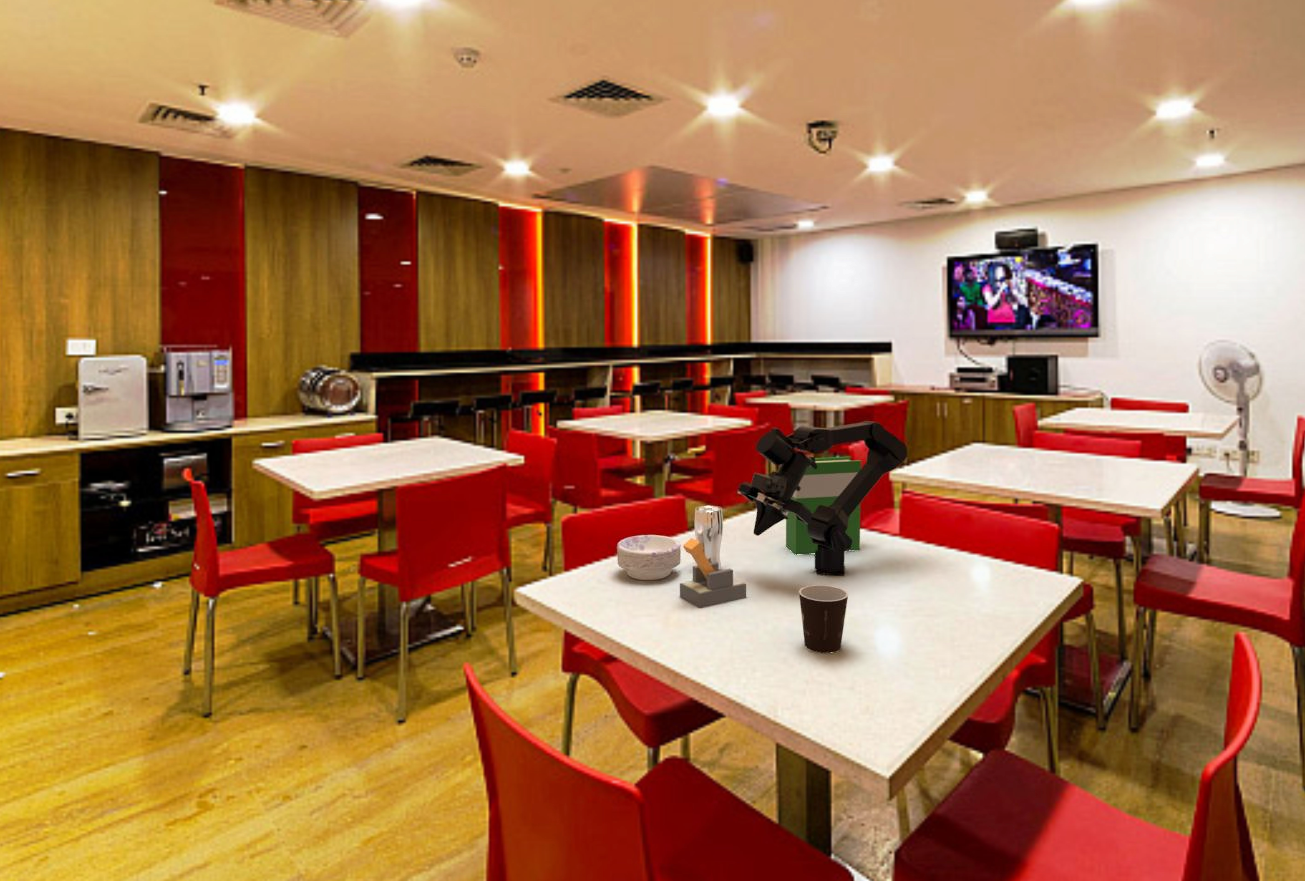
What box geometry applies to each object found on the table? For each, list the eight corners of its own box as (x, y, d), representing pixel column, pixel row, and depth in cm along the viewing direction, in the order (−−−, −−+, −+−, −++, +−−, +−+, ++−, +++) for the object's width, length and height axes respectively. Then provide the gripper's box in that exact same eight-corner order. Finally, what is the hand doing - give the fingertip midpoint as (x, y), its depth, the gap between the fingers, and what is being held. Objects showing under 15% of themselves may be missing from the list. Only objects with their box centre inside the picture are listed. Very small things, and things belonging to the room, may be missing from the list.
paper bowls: (668, 587, 165) (667, 554, 164) (607, 581, 171) (606, 548, 170) (689, 568, 179) (689, 537, 178) (632, 562, 185) (632, 532, 184)
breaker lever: (713, 575, 160) (691, 537, 156) (722, 579, 157) (700, 541, 153) (705, 582, 159) (682, 545, 156) (714, 587, 156) (691, 549, 152)
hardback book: (847, 543, 199) (849, 456, 196) (859, 550, 192) (861, 460, 188) (785, 547, 196) (786, 459, 193) (795, 555, 189) (796, 463, 185)
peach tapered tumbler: (721, 573, 175) (721, 512, 173) (693, 571, 176) (692, 511, 174) (724, 564, 182) (724, 505, 180) (697, 563, 183) (696, 505, 181)
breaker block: (725, 586, 165) (725, 559, 164) (746, 597, 158) (746, 568, 157) (680, 596, 159) (679, 567, 158) (699, 607, 152) (699, 577, 151)
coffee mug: (809, 632, 138) (810, 582, 137) (853, 642, 133) (854, 590, 132) (783, 654, 129) (784, 600, 127) (830, 666, 124) (831, 610, 123)
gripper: (741, 449, 168) (708, 507, 166) (802, 469, 154) (766, 533, 151) (766, 471, 175) (734, 527, 173) (827, 492, 161) (793, 554, 158)
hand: (755, 534), depth 164 cm, fingers closed
